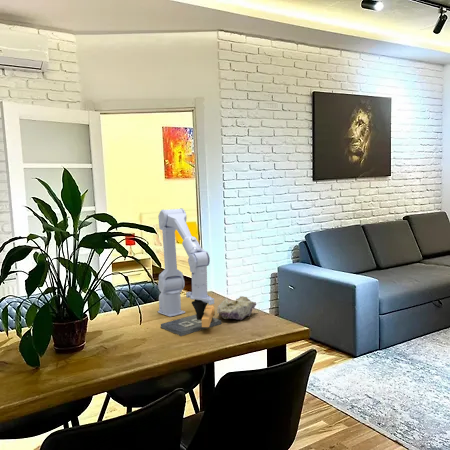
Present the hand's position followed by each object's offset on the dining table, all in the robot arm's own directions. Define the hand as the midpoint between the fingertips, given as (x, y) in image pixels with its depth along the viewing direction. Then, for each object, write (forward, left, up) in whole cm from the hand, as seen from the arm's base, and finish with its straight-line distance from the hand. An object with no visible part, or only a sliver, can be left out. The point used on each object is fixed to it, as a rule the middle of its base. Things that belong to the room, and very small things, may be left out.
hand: (200, 319), depth 173 cm
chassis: (-4, -1, -3) cm, 6 cm away
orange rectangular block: (+1, +3, -1) cm, 3 cm away
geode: (-1, +18, -4) cm, 19 cm away
